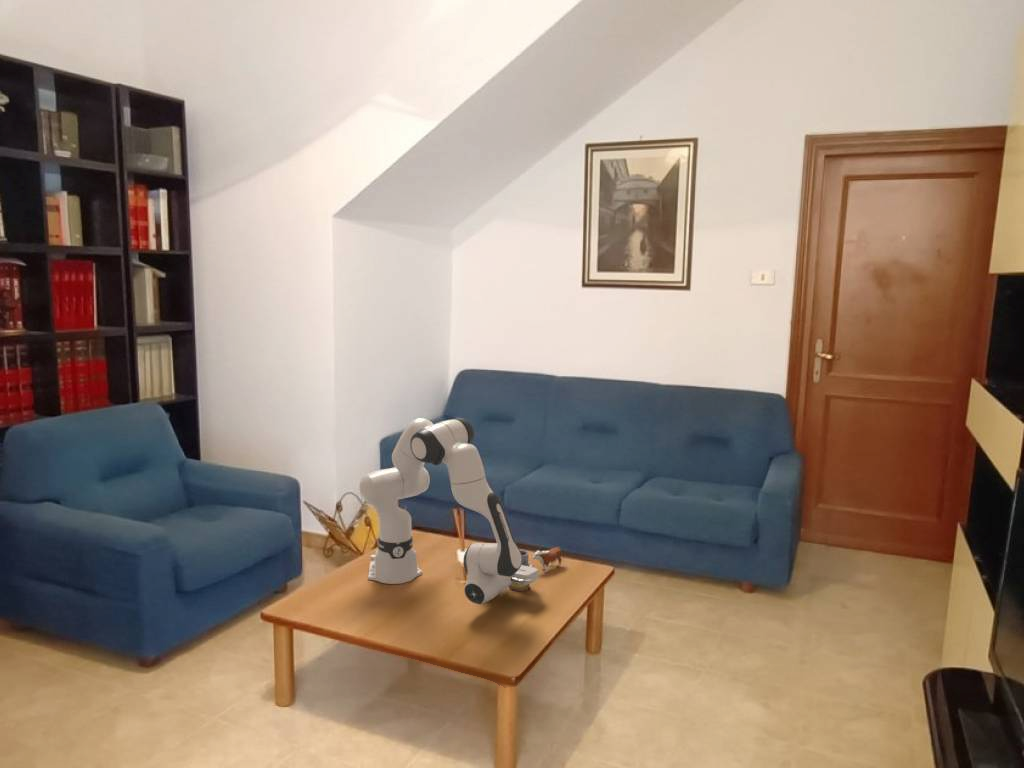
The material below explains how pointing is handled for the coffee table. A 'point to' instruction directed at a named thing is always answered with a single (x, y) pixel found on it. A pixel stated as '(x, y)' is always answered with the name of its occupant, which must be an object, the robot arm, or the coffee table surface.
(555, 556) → the bull figurine
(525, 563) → the sleeve
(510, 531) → the robot arm
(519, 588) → the pin stand
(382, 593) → the coffee table surface
